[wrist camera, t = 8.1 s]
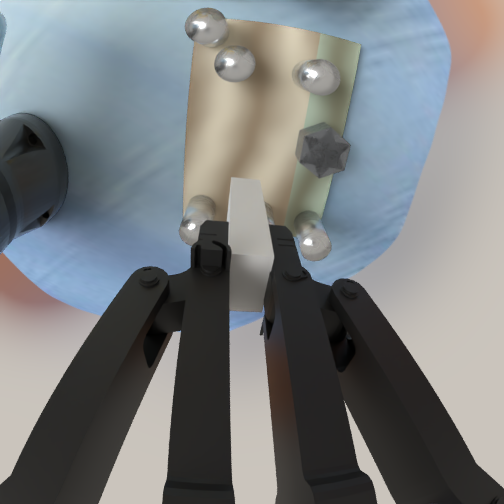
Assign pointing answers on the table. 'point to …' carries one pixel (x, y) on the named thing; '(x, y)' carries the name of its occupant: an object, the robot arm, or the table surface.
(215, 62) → the spacers
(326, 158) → the gray polyhedron
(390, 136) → the table surface
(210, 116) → the board
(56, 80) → the table surface
